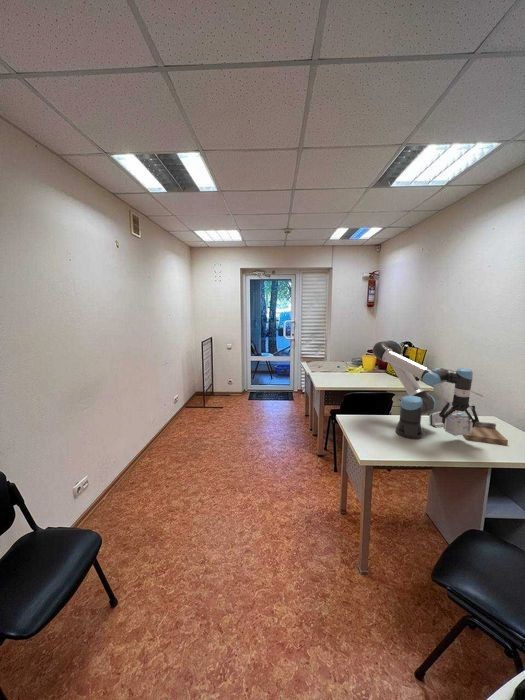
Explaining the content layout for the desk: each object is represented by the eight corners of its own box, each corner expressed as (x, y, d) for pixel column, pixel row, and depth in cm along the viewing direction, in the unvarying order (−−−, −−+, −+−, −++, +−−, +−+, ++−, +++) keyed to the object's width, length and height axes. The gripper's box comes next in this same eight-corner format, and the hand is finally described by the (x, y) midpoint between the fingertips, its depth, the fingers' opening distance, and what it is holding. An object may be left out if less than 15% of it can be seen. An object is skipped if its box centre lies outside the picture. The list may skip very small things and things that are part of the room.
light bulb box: (458, 429, 166) (460, 412, 164) (468, 434, 159) (471, 416, 157) (444, 431, 163) (446, 414, 161) (454, 436, 156) (457, 418, 154)
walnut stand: (465, 439, 164) (466, 430, 163) (456, 427, 180) (457, 419, 180) (507, 445, 157) (508, 435, 156) (493, 432, 173) (494, 423, 172)
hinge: (435, 427, 180) (432, 412, 182) (429, 427, 185) (427, 412, 187) (456, 425, 183) (453, 410, 185) (450, 425, 188) (447, 410, 190)
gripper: (438, 394, 158) (434, 429, 161) (489, 400, 149) (484, 436, 153) (435, 391, 165) (431, 424, 168) (484, 396, 156) (479, 431, 160)
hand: (456, 430), depth 161 cm, fingers closed on light bulb box, 12 cm apart
